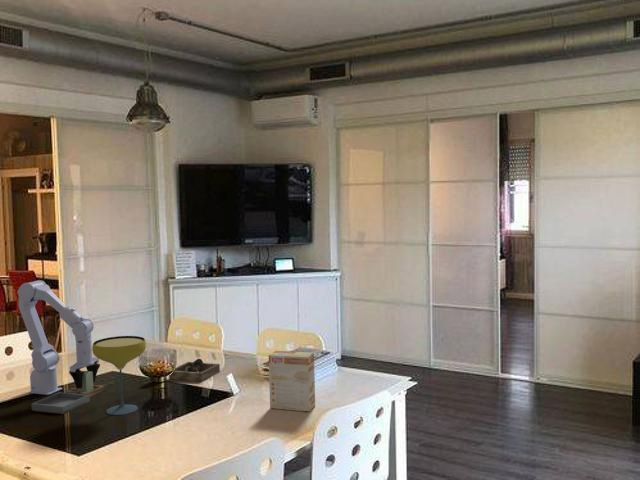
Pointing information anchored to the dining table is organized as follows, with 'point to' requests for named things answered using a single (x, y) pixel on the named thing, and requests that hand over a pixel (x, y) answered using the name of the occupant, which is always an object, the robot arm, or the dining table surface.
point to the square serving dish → (206, 373)
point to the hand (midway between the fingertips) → (85, 385)
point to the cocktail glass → (119, 361)
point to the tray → (60, 402)
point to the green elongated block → (87, 382)
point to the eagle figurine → (194, 366)
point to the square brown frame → (96, 390)
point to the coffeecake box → (292, 380)
